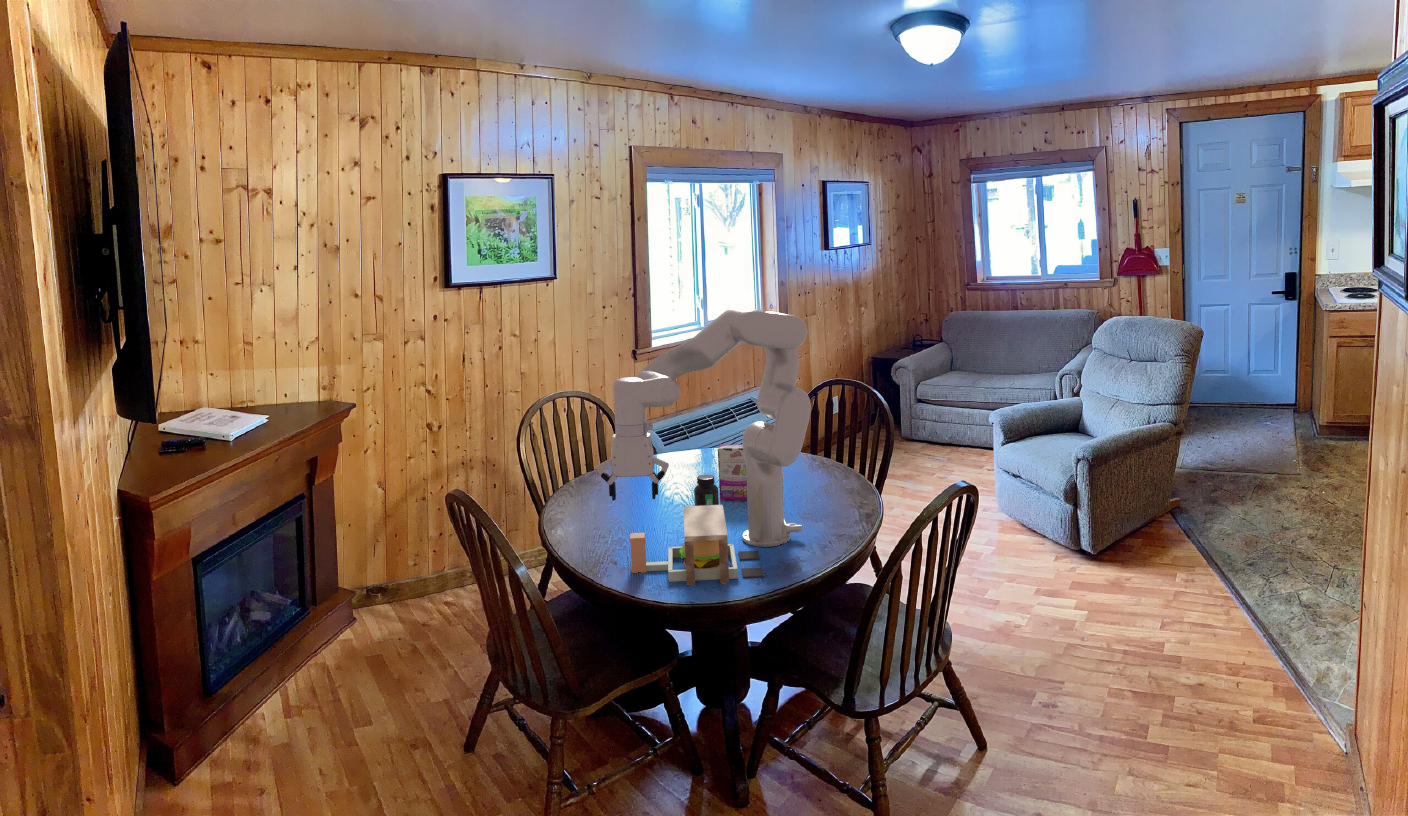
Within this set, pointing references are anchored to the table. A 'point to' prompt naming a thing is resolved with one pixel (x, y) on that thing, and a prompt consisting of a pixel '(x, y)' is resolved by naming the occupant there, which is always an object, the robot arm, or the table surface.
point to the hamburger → (704, 554)
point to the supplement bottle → (706, 491)
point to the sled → (674, 575)
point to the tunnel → (705, 536)
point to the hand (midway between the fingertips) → (634, 498)
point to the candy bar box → (732, 473)
